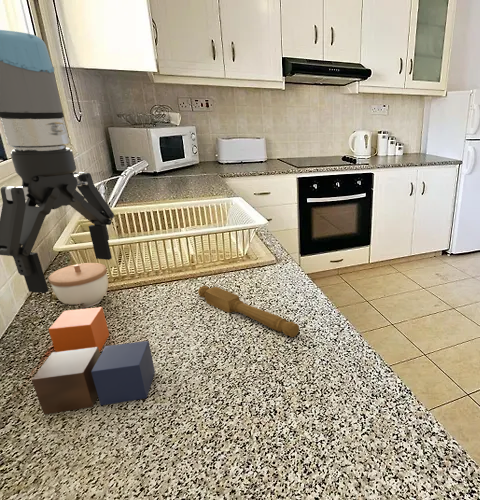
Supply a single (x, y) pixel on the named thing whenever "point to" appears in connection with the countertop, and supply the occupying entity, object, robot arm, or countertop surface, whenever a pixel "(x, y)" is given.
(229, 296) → the tap handle
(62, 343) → the orange block
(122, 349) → the navy block
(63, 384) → the walnut block
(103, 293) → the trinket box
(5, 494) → the countertop surface
